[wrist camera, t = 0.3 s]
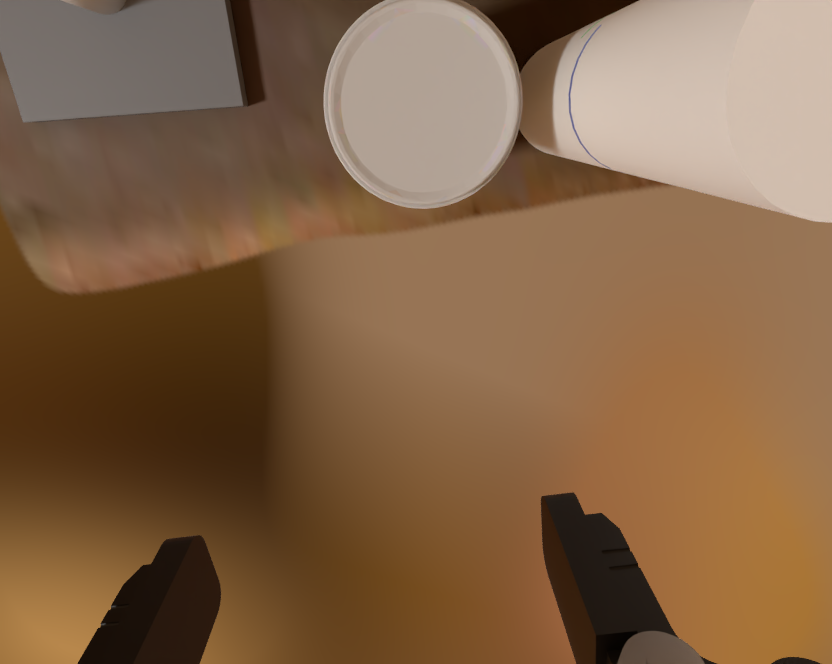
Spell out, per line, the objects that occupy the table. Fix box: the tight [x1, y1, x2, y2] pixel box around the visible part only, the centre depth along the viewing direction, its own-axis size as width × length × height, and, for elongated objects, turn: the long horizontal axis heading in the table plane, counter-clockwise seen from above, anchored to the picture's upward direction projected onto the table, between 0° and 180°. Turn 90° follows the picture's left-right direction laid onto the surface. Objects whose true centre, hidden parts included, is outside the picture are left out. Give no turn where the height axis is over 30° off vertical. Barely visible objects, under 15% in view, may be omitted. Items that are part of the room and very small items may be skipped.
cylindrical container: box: [519, 0, 832, 222], centre depth 24 cm, size 7×7×25 cm
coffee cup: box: [324, 0, 523, 209], centre depth 30 cm, size 9×9×12 cm
